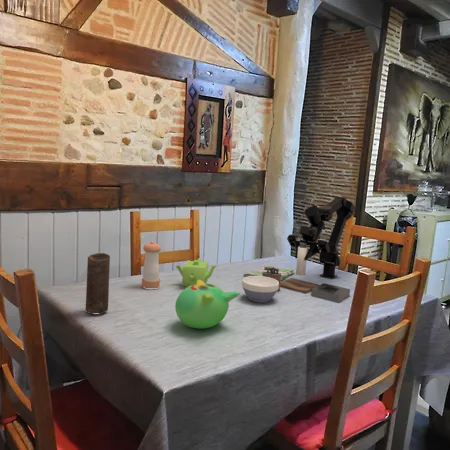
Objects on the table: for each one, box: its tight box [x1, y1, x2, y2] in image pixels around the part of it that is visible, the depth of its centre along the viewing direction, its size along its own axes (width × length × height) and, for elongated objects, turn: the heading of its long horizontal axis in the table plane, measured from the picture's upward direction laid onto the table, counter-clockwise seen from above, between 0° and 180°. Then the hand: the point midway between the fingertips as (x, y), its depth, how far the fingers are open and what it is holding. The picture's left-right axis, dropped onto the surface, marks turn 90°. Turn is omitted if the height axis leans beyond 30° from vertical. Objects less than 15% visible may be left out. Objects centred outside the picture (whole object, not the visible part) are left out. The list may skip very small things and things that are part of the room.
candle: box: [85, 252, 111, 314], centre depth 147 cm, size 8×7×20 cm
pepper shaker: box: [141, 240, 162, 288], centre depth 178 cm, size 7×7×19 cm
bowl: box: [241, 276, 279, 304], centre depth 172 cm, size 14×14×8 cm
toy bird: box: [174, 280, 241, 330], centre depth 141 cm, size 18×17×15 cm
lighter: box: [262, 266, 281, 293], centre depth 185 cm, size 8×3×10 cm, turn 84°
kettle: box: [175, 257, 219, 289], centre depth 184 cm, size 15×14×11 cm
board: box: [280, 277, 320, 294], centre depth 194 cm, size 14×14×1 cm
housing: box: [310, 282, 351, 304], centre depth 183 cm, size 12×12×3 cm
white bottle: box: [295, 242, 309, 277], centre depth 189 cm, size 4×4×14 cm
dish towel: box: [242, 265, 295, 282], centre depth 208 cm, size 17×23×4 cm
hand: (300, 258), depth 188 cm, fingers closed on white bottle, 4 cm apart
